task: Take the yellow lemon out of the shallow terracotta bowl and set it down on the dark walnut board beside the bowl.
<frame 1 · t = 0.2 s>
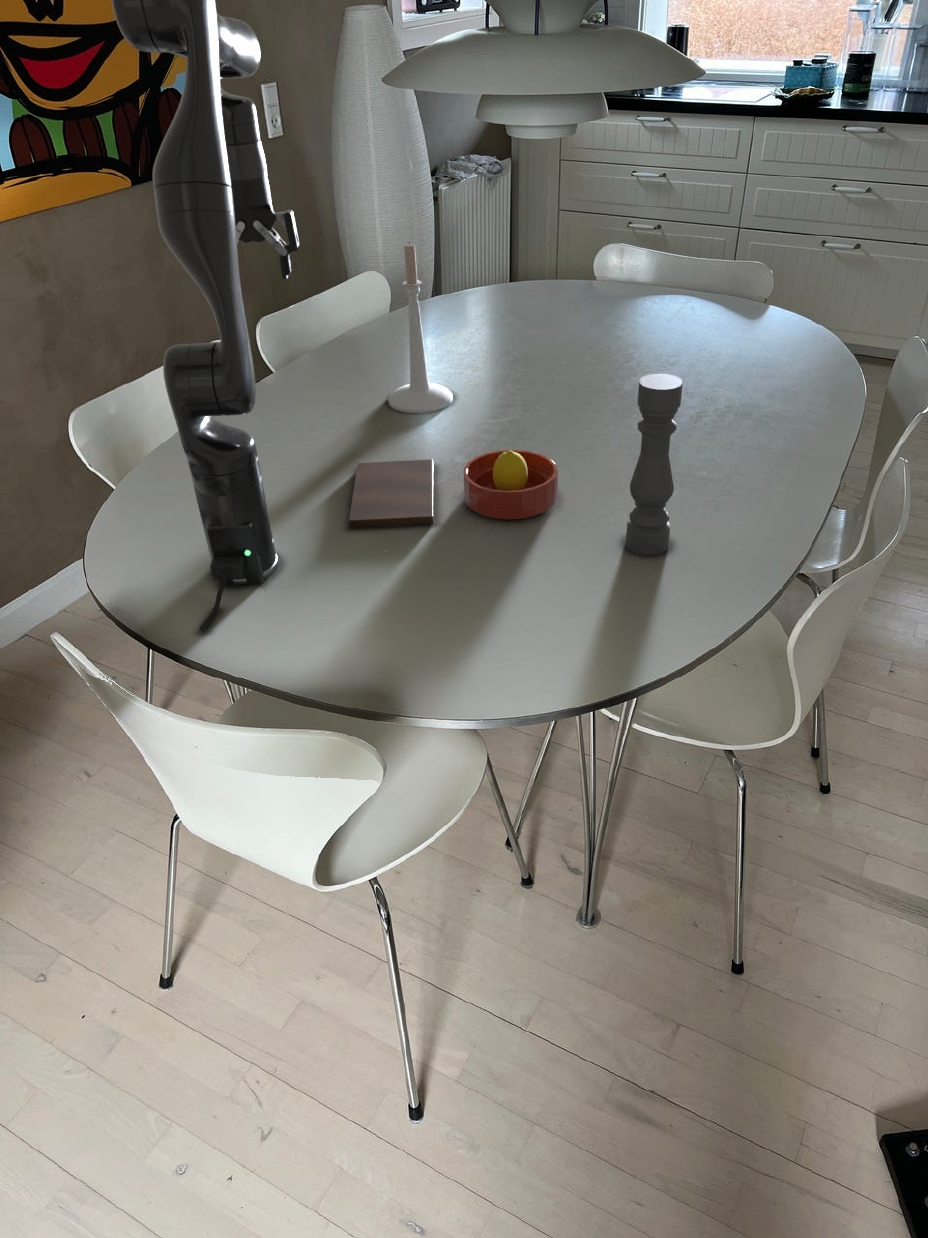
hand: (260, 278, 155), 29 cm above the table, tool pointing down, fingers open, 8 cm apart
candlestick: (420, 400, 185), on the table
bowl: (510, 499, 150), on the table
lemon: (510, 497, 149), resting on bowl
board: (393, 496, 152), on the table
candle holder: (646, 545, 137), on the table
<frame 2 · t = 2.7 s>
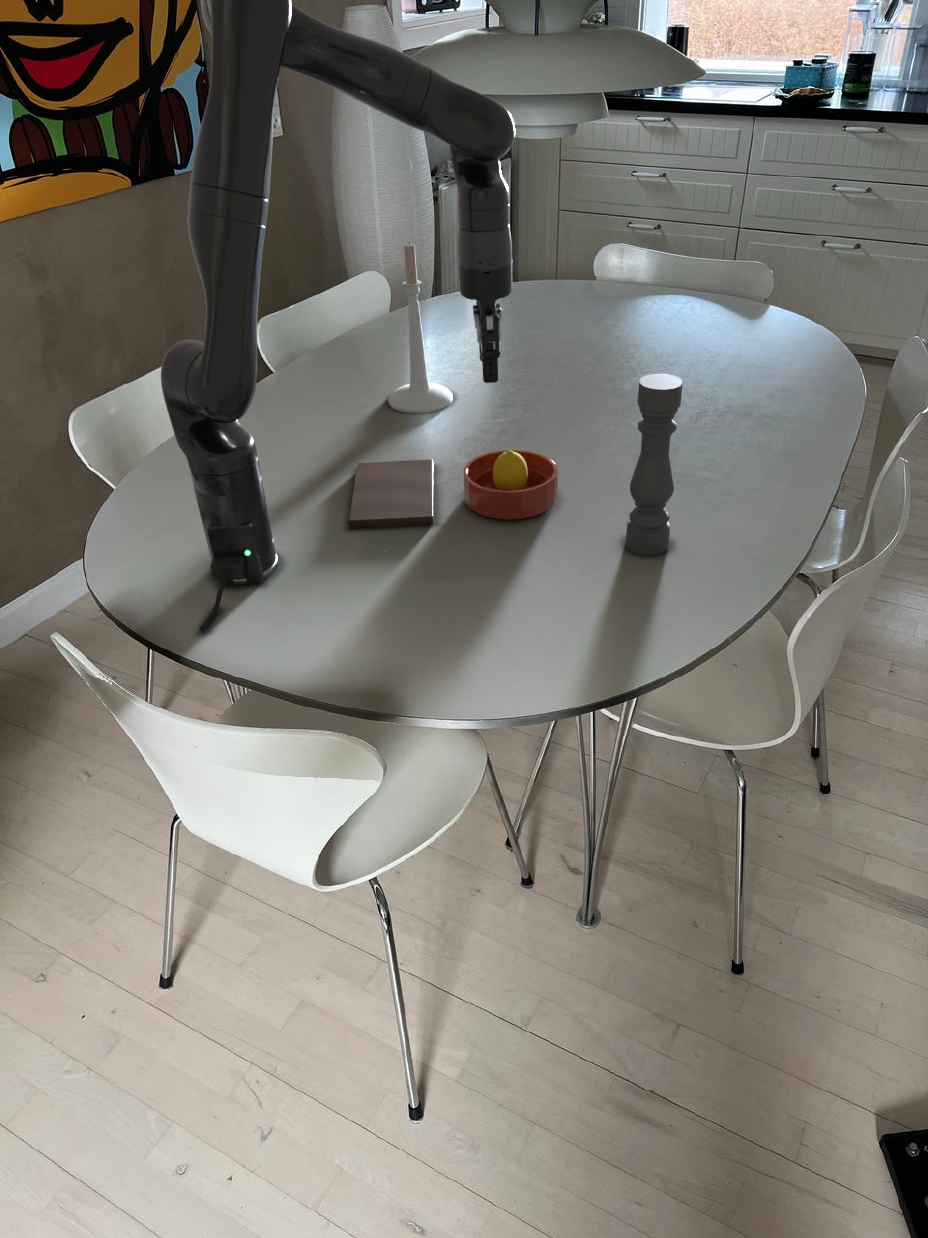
hand: (488, 371, 139), 21 cm above the table, tool pointing down, fingers open, 8 cm apart
nothing on the table moved.
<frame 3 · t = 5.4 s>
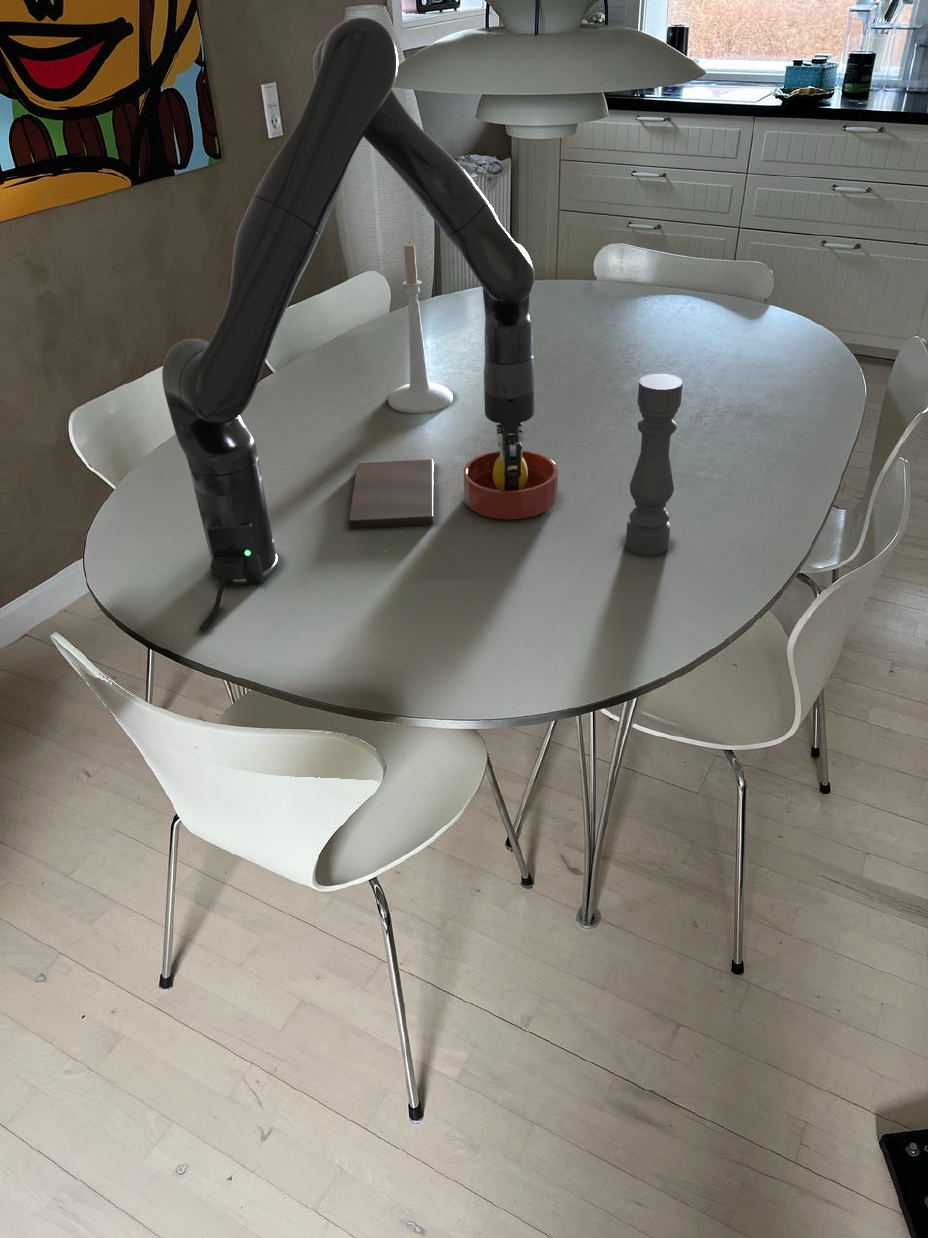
hand: (510, 486, 148), 2 cm above the table, tool pointing down, fingers closed on lemon, 5 cm apart
lemon: (510, 497, 149), resting on bowl, touching gripper
everything else where it was.
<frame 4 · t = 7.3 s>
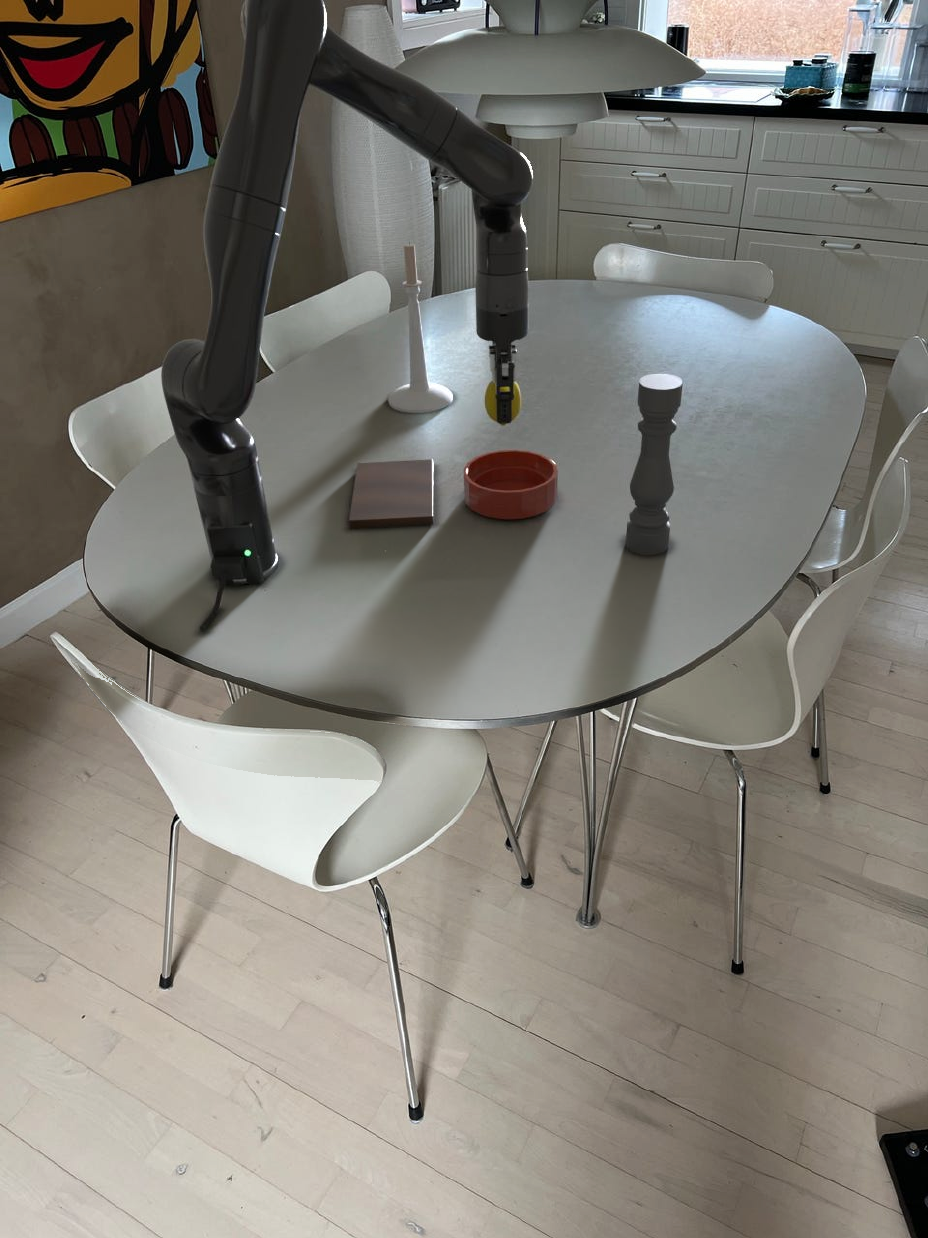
hand: (503, 413, 141), 15 cm above the table, tool pointing down, fingers closed on lemon, 5 cm apart
lemon: (503, 426, 142), point 13 cm above the table, touching gripper
everything else where it was.
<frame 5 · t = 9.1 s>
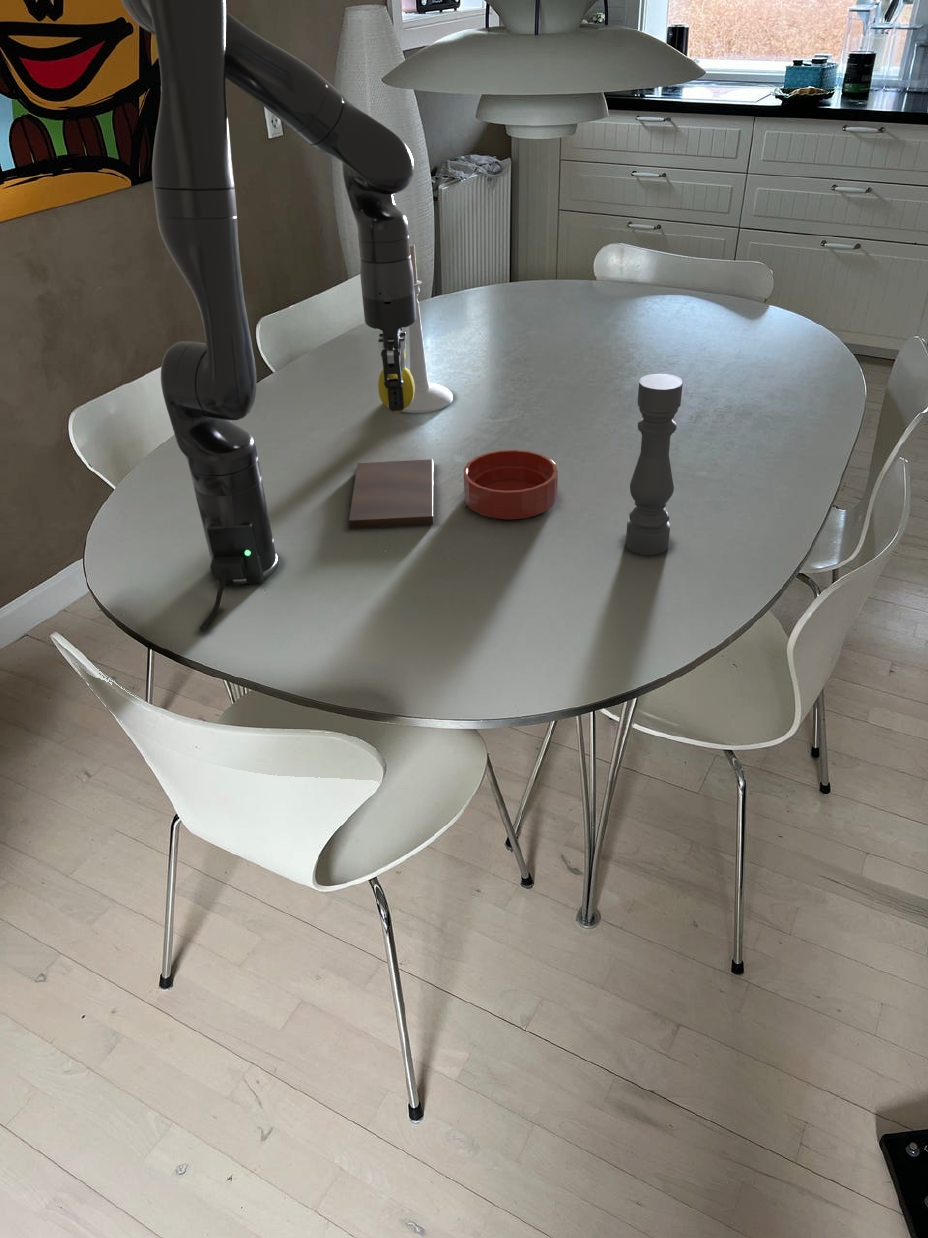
hand: (397, 401, 142), 17 cm above the table, tool pointing down, fingers closed on lemon, 5 cm apart
lemon: (398, 413, 143), point 14 cm above the table, touching gripper
everything else where it was.
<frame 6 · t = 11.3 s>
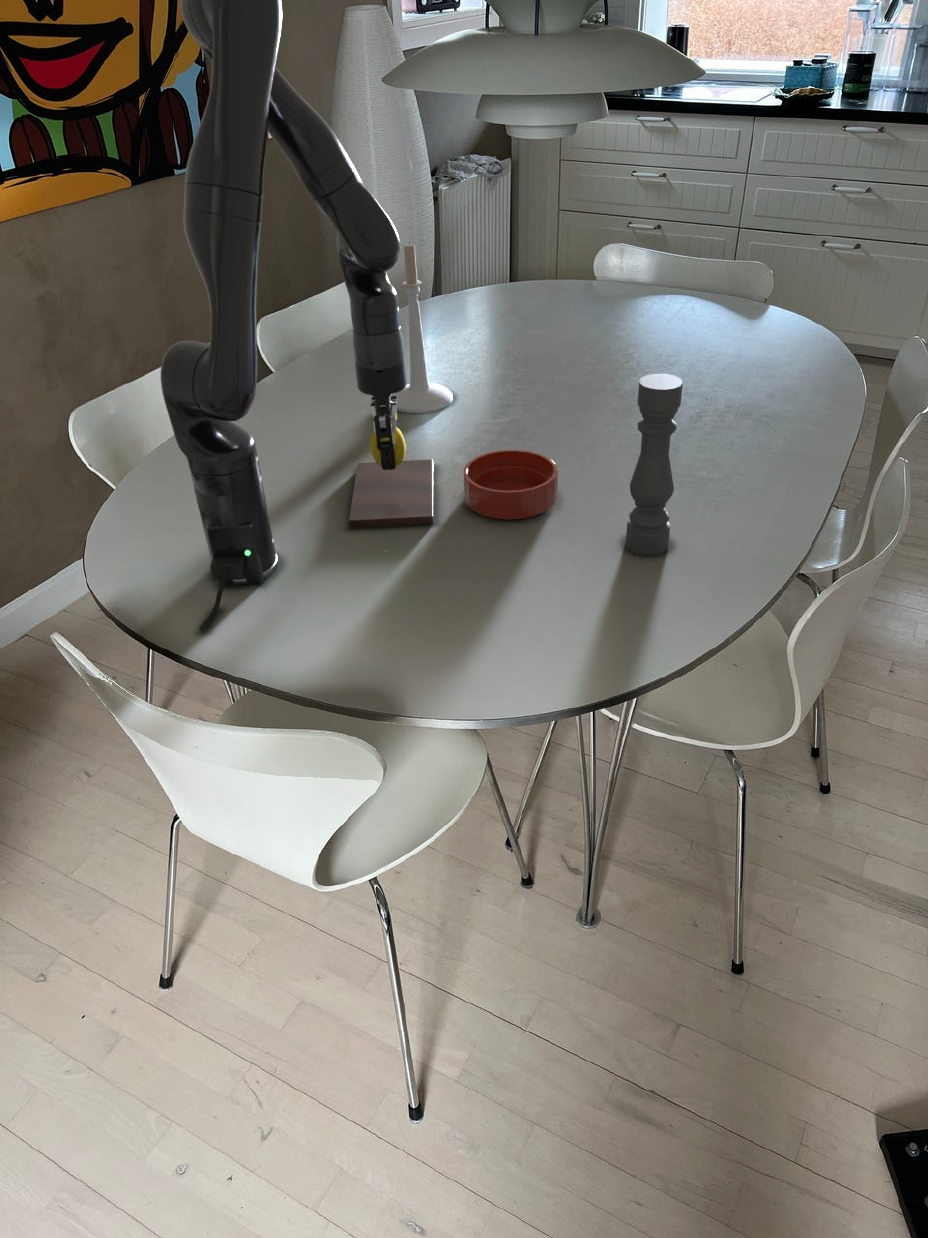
hand: (389, 459, 148), 7 cm above the table, tool pointing down, fingers closed on lemon, 5 cm apart
lemon: (390, 470, 150), point 4 cm above the table, touching gripper
everything else where it was.
when the fingers open (3 cm above the table, at t = 12.7 s): lemon stays where it is, resting on board.
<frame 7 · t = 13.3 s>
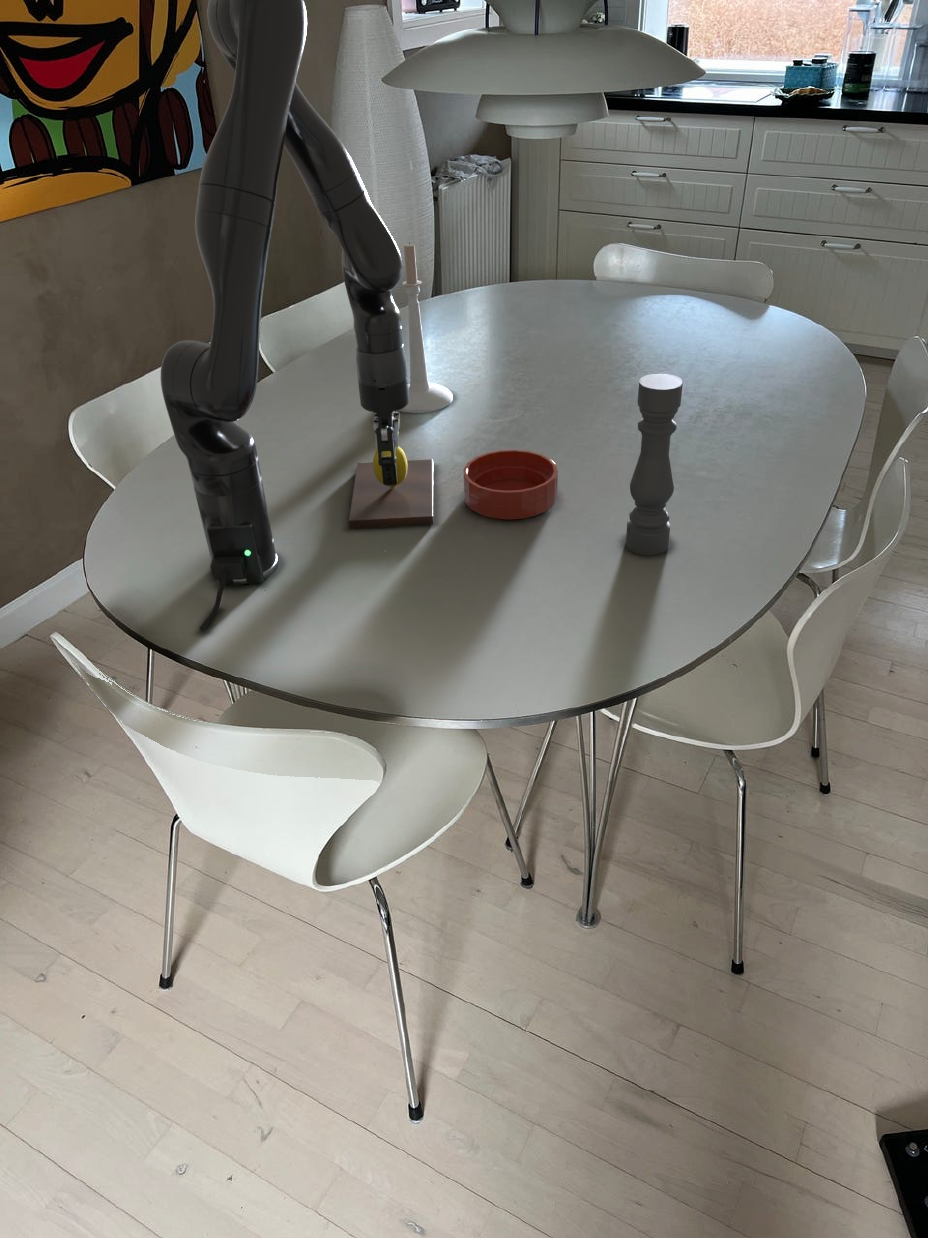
hand: (391, 472, 149), 4 cm above the table, tool pointing down, fingers open, 8 cm apart
lemon: (392, 488, 151), point 1 cm above the table, touching board
everything else where it was.
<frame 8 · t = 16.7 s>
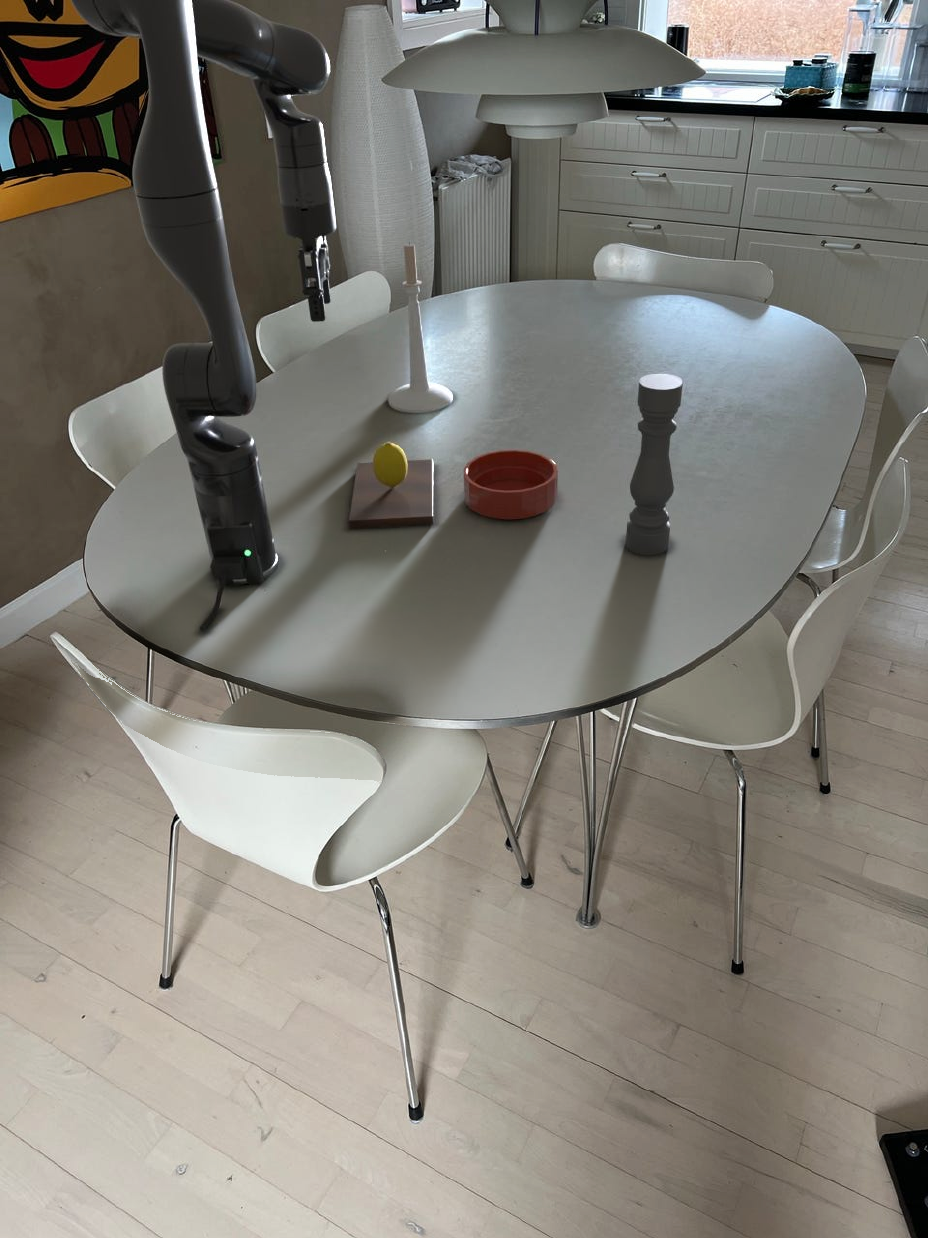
hand: (321, 311, 142), 28 cm above the table, tool pointing down, fingers open, 8 cm apart
nothing on the table moved.
at the end: lemon inside the target area on the board (0.2 cm from its centre), point 1.3 cm above the board's base; lemon touching board; the gripper is holding nothing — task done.
